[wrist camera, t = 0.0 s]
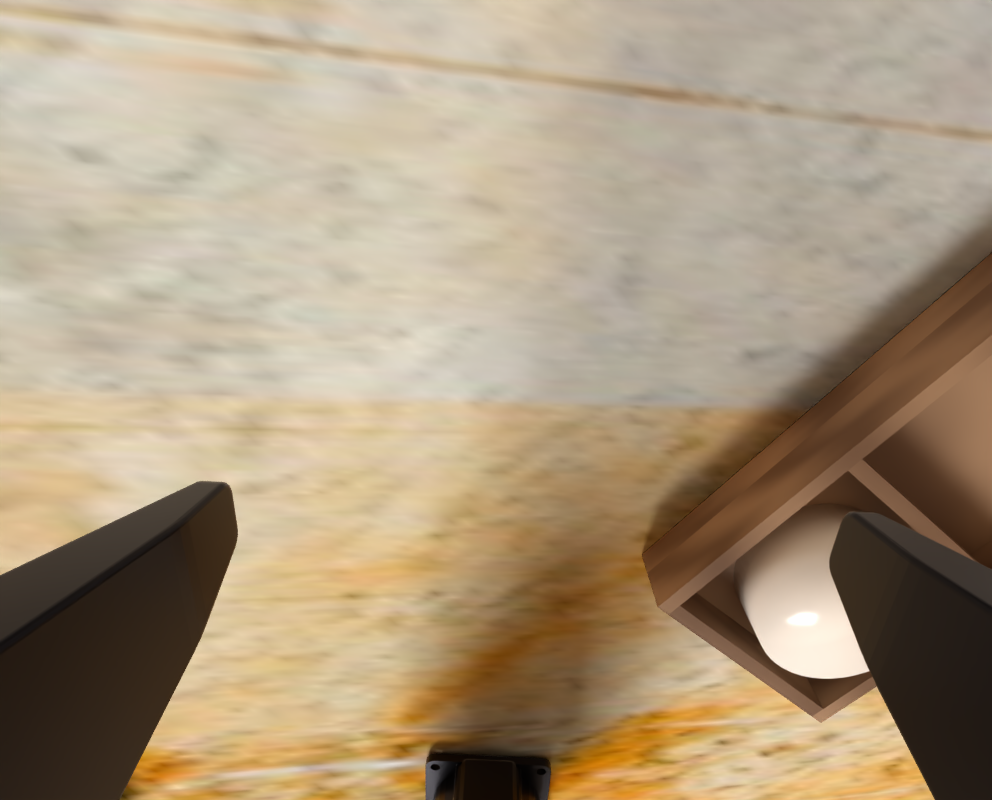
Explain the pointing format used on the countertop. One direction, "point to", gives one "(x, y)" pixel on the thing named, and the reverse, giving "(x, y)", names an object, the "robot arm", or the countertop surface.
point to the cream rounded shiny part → (800, 596)
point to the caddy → (852, 479)
